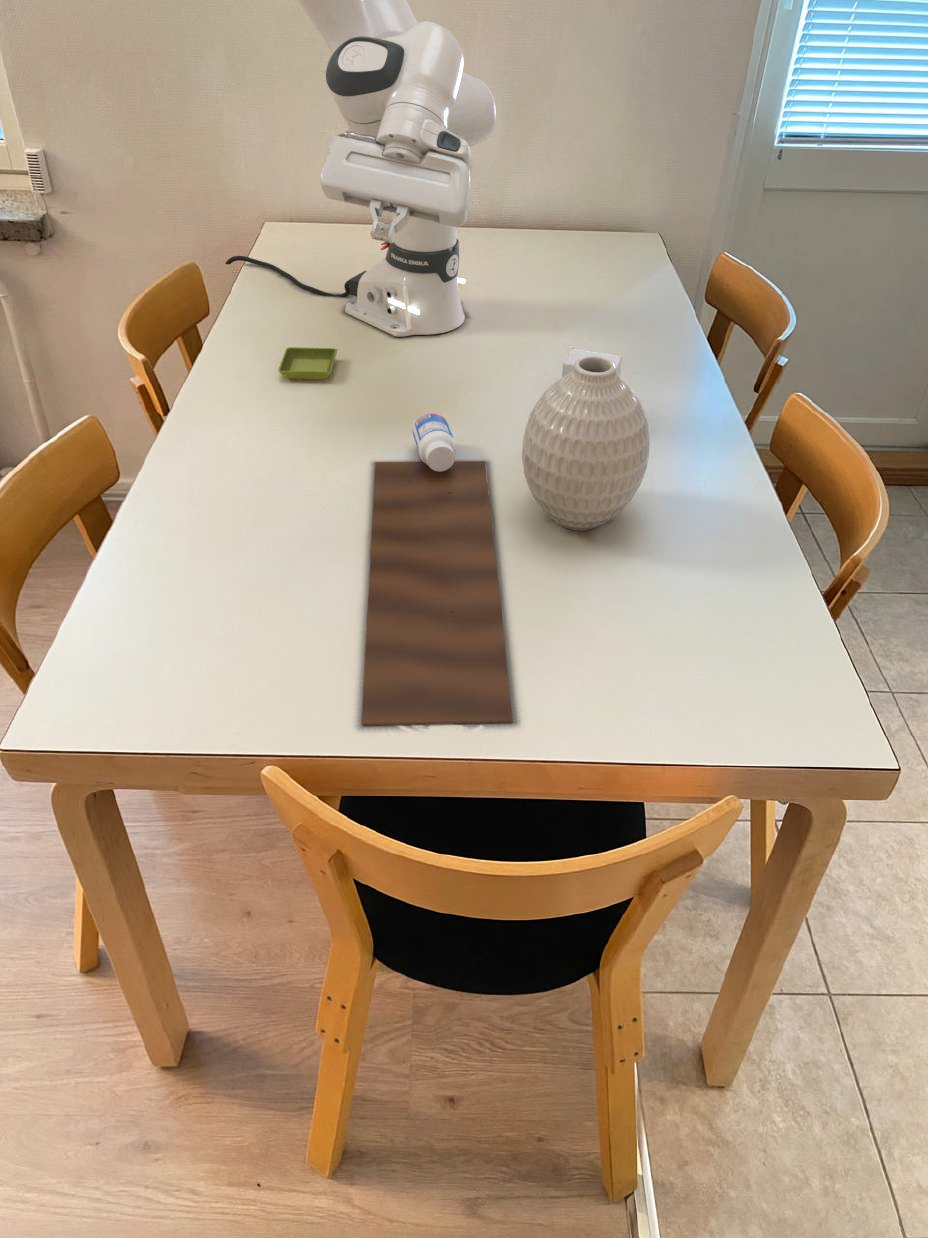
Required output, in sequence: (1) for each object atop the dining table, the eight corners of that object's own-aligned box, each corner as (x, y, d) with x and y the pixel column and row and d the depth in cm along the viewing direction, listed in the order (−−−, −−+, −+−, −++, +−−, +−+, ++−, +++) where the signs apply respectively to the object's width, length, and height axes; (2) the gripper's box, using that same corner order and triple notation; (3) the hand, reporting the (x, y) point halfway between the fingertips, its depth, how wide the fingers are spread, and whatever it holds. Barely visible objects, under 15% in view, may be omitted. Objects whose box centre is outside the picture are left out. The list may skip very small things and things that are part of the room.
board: (375, 464, 140) (375, 461, 140) (485, 463, 141) (485, 460, 141) (361, 725, 102) (361, 722, 102) (512, 722, 103) (512, 720, 102)
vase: (605, 567, 123) (628, 411, 108) (496, 525, 129) (503, 373, 115) (656, 506, 133) (683, 356, 119) (553, 470, 140) (566, 324, 125)
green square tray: (278, 382, 158) (277, 370, 157) (287, 358, 165) (286, 346, 163) (331, 384, 158) (330, 372, 157) (338, 359, 165) (337, 348, 163)
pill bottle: (443, 447, 145) (453, 479, 138) (408, 441, 144) (417, 474, 136) (452, 414, 142) (463, 445, 134) (417, 408, 140) (426, 439, 133)
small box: (615, 418, 151) (623, 355, 144) (607, 435, 147) (615, 372, 140) (565, 409, 153) (571, 346, 146) (556, 425, 149) (562, 362, 142)
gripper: (331, 113, 128) (301, 209, 126) (480, 145, 126) (452, 243, 124) (340, 142, 134) (312, 234, 132) (482, 173, 132) (455, 267, 130)
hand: (381, 238), depth 128 cm, fingers closed
